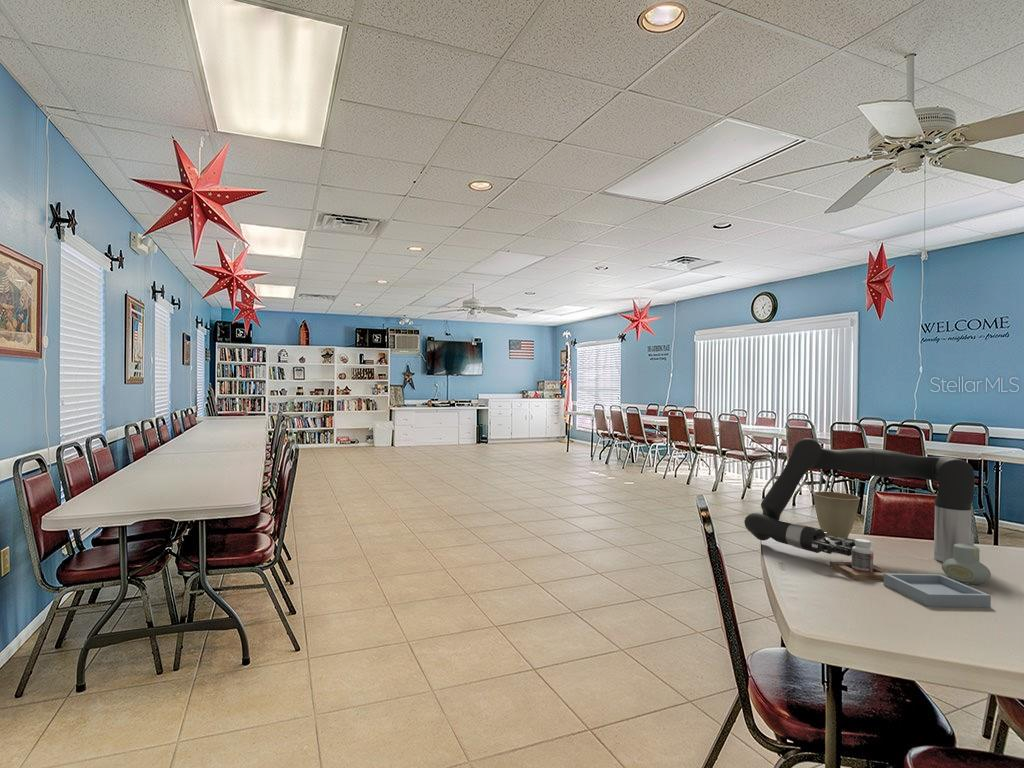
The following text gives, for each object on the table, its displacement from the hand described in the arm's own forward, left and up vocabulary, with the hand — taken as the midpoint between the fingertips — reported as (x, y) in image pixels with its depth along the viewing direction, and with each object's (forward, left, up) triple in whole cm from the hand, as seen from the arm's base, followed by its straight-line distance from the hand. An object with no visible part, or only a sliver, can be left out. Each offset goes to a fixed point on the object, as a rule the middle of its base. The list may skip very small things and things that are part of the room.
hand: (858, 550), depth 165 cm
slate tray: (-8, +18, -6) cm, 21 cm away
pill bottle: (0, +1, -7) cm, 7 cm away
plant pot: (-17, -39, -7) cm, 43 cm away
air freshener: (-27, +6, -7) cm, 29 cm away
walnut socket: (0, +1, -6) cm, 6 cm away
